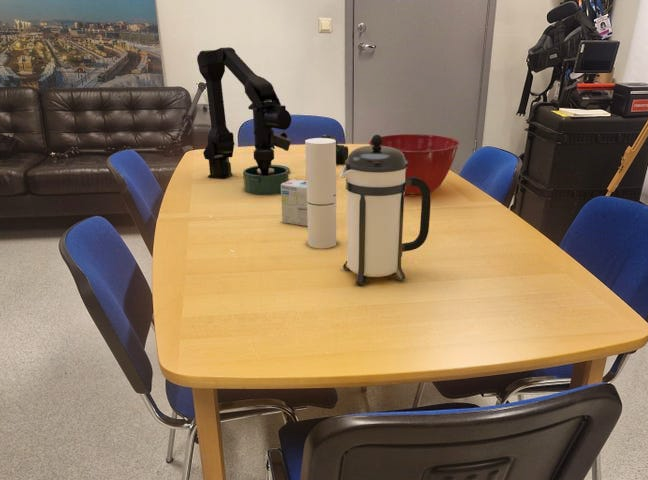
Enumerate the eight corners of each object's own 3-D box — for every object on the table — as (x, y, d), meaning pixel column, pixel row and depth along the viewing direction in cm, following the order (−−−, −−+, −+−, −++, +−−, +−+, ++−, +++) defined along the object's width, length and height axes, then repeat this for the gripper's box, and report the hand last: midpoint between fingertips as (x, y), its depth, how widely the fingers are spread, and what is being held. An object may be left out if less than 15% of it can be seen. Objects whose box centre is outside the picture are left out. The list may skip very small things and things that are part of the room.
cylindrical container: (340, 241, 161) (340, 139, 148) (330, 249, 155) (329, 144, 142) (314, 237, 163) (312, 137, 150) (303, 246, 157) (300, 142, 144)
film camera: (347, 168, 232) (348, 140, 227) (314, 168, 232) (313, 140, 227) (348, 158, 247) (348, 131, 242) (317, 157, 247) (316, 131, 242)
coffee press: (390, 294, 131) (396, 145, 116) (327, 278, 139) (325, 136, 124) (427, 268, 144) (436, 131, 129) (367, 255, 151) (370, 124, 137)
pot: (234, 195, 198) (232, 176, 196) (257, 180, 215) (256, 162, 212) (277, 198, 195) (276, 179, 193) (297, 183, 212) (296, 165, 209)
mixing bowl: (355, 196, 198) (355, 145, 190) (385, 176, 221) (386, 130, 213) (442, 206, 189) (446, 153, 181) (464, 184, 212) (468, 136, 204)
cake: (255, 181, 202) (254, 167, 200) (261, 177, 207) (260, 163, 205) (271, 182, 201) (270, 168, 199) (276, 178, 206) (276, 164, 203)
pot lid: (239, 175, 221) (238, 159, 218) (256, 166, 234) (255, 150, 231) (281, 178, 217) (280, 162, 215) (295, 169, 230) (294, 153, 228)
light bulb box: (327, 221, 175) (326, 182, 170) (315, 228, 170) (314, 188, 164) (293, 216, 179) (291, 178, 174) (281, 222, 174) (279, 183, 168)
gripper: (289, 130, 188) (291, 183, 196) (288, 120, 204) (290, 169, 212) (251, 131, 187) (255, 183, 195) (254, 121, 203) (257, 170, 211)
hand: (266, 176), depth 203 cm, fingers closed on cake, 5 cm apart
